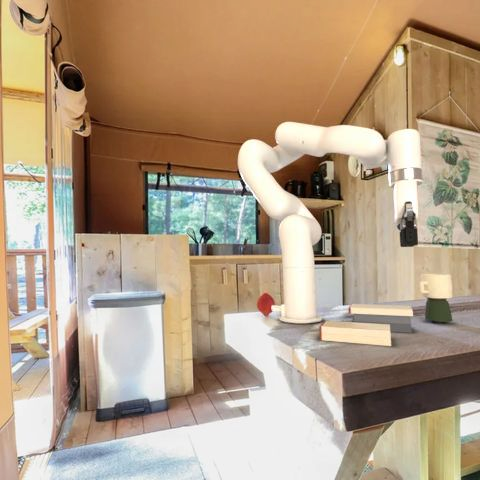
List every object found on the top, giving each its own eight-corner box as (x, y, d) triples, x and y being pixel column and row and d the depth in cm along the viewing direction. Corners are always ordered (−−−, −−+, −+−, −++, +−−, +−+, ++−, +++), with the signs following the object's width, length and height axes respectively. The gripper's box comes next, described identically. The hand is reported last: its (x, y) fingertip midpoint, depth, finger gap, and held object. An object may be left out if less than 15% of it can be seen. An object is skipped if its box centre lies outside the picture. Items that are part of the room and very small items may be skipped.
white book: (348, 313, 77) (348, 307, 77) (351, 309, 84) (351, 303, 84) (413, 316, 71) (412, 310, 71) (410, 311, 78) (410, 305, 78)
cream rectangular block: (319, 340, 67) (318, 326, 68) (325, 333, 74) (324, 320, 74) (391, 346, 61) (390, 331, 62) (390, 338, 68) (389, 324, 68)
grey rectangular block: (351, 329, 78) (350, 313, 78) (353, 324, 83) (353, 309, 83) (411, 333, 72) (410, 315, 72) (409, 328, 77) (408, 312, 77)
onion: (275, 314, 101) (274, 290, 102) (275, 317, 96) (274, 291, 96) (257, 314, 102) (256, 290, 103) (257, 317, 96) (256, 292, 97)
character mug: (441, 318, 88) (438, 273, 89) (466, 323, 81) (462, 274, 82) (411, 321, 85) (408, 274, 86) (434, 326, 78) (431, 275, 79)
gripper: (388, 188, 88) (391, 247, 86) (389, 172, 72) (393, 245, 71) (418, 185, 84) (421, 246, 83) (426, 168, 69) (431, 244, 68)
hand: (408, 246), depth 77 cm, fingers open, 9 cm apart
